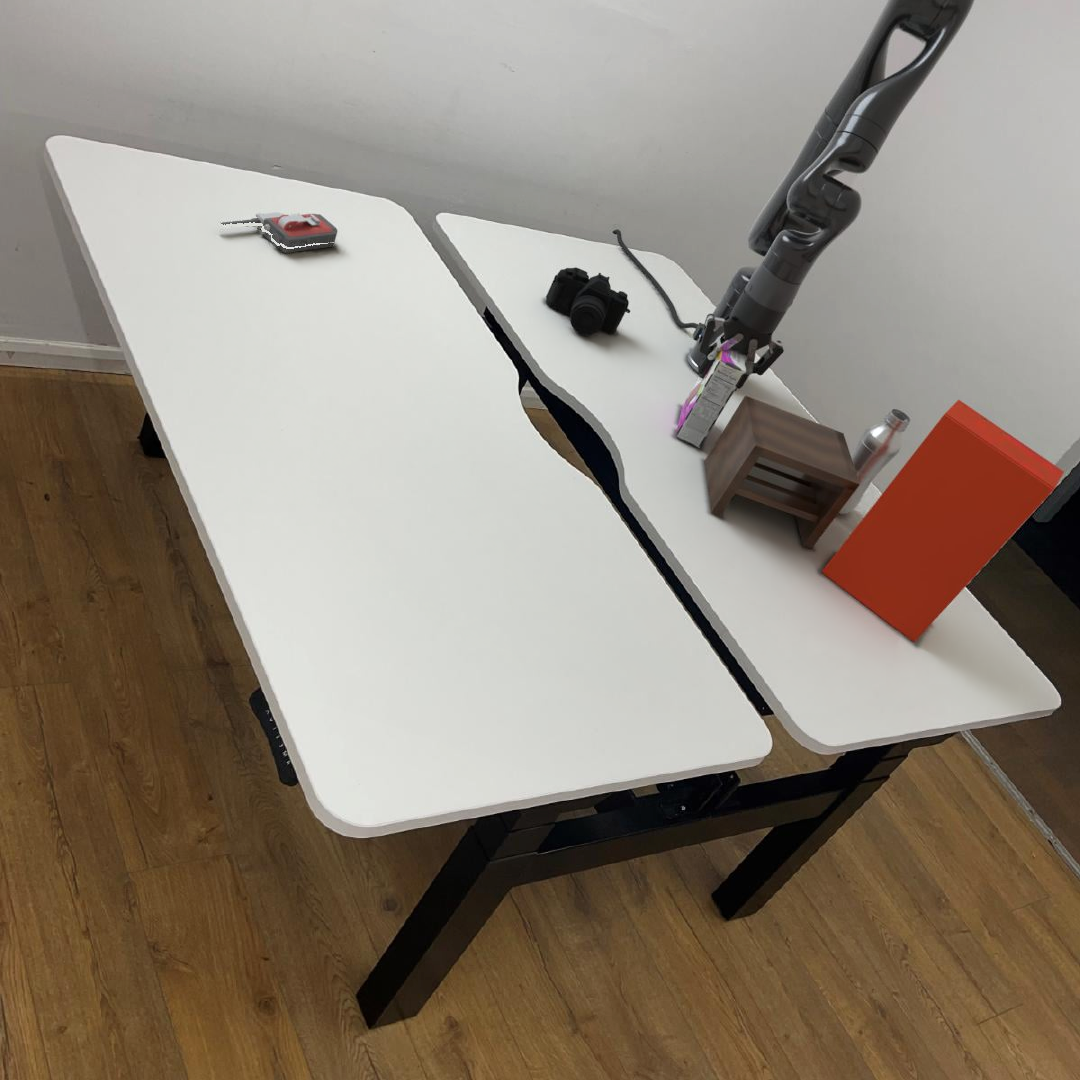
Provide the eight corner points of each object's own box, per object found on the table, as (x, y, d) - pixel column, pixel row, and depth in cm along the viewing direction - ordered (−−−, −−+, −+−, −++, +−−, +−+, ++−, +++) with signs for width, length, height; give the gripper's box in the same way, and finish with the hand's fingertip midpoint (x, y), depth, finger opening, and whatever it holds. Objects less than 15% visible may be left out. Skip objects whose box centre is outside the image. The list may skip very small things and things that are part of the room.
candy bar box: (679, 406, 185) (724, 329, 175) (705, 418, 186) (751, 342, 176) (673, 437, 176) (720, 358, 167) (699, 449, 177) (748, 372, 167)
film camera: (537, 317, 189) (556, 274, 184) (546, 295, 197) (564, 253, 191) (613, 351, 191) (634, 310, 185) (619, 329, 198) (639, 288, 193)
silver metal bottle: (809, 492, 181) (875, 401, 169) (837, 493, 184) (903, 404, 172) (828, 518, 177) (897, 426, 165) (857, 519, 180) (926, 429, 168)
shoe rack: (703, 461, 175) (745, 395, 166) (798, 496, 178) (843, 433, 170) (710, 513, 164) (755, 445, 155) (811, 549, 168) (860, 484, 159)
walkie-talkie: (309, 219, 183) (213, 229, 168) (315, 196, 180) (218, 205, 165) (341, 247, 180) (246, 260, 165) (348, 224, 177) (252, 235, 163)
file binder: (913, 644, 159) (1054, 489, 140) (820, 573, 163) (944, 413, 144) (927, 622, 165) (1064, 470, 146) (837, 554, 169) (959, 398, 150)
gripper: (804, 301, 169) (752, 385, 179) (724, 268, 166) (676, 355, 176) (811, 323, 163) (757, 408, 174) (729, 290, 161) (679, 378, 171)
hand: (716, 381), depth 175 cm, fingers closed on candy bar box, 5 cm apart
